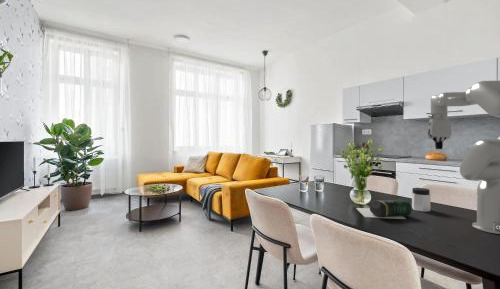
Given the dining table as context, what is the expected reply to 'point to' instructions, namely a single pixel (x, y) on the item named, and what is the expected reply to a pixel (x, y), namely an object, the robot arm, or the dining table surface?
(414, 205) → the jar
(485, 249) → the dining table surface
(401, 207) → the coffee jar
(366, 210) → the mat
